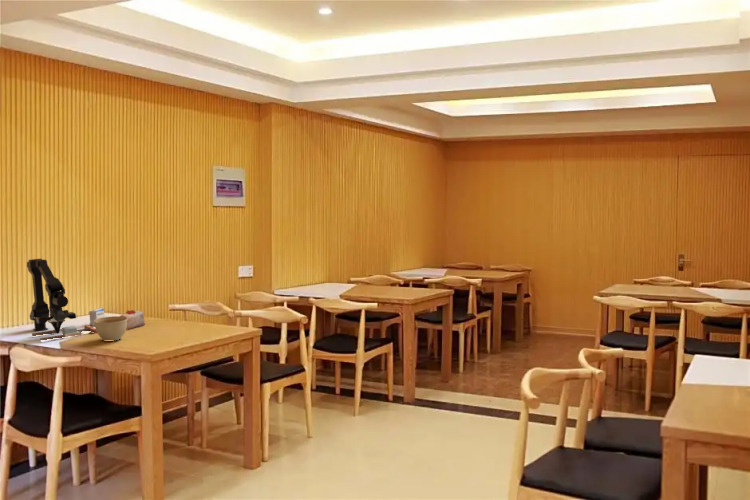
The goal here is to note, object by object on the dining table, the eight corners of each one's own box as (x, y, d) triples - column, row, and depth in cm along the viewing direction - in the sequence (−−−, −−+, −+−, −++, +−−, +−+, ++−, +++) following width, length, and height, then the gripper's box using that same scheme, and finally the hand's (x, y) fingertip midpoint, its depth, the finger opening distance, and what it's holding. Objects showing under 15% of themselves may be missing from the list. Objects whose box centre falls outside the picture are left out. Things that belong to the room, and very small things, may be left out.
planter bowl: (109, 345, 351) (107, 324, 350) (88, 341, 360) (87, 321, 359) (135, 338, 365) (134, 317, 364) (115, 335, 373) (113, 314, 372)
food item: (126, 330, 383) (125, 313, 382) (116, 329, 387) (115, 312, 386) (146, 325, 395) (145, 308, 393) (136, 324, 399) (135, 307, 397)
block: (62, 334, 378) (61, 327, 377) (74, 333, 381) (73, 325, 381) (65, 336, 373) (64, 329, 372) (77, 335, 377) (76, 327, 376)
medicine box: (97, 326, 396) (96, 311, 395) (90, 326, 397) (89, 310, 396) (105, 323, 404) (104, 308, 403) (98, 322, 405) (97, 308, 404)
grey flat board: (32, 336, 374) (32, 333, 373) (87, 328, 392) (87, 324, 391) (40, 342, 361) (40, 338, 360) (97, 333, 379) (97, 329, 378)
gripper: (40, 309, 360) (43, 339, 362) (78, 304, 372) (80, 333, 373) (34, 306, 368) (37, 335, 370) (71, 301, 380) (73, 329, 382)
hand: (57, 333), depth 374 cm, fingers closed
